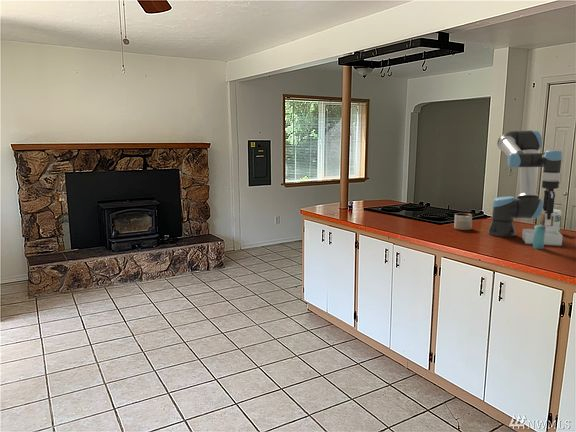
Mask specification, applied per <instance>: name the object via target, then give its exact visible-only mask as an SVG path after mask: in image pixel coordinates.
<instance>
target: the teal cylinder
mask: <svg viewBox="0 0 576 432" xmlns="http://www.w3.org/2000/svg"><path fill="white" fill-rule="evenodd" d="M545 230H546V226H542V225H541V224H539V225H537V224H536V225H534V239H533V244H532V249H537V250H543V249H544V247H545V245H544V236H545Z"/></svg>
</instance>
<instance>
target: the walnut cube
mask: <svg viewBox="0 0 576 432" xmlns="http://www.w3.org/2000/svg"><path fill="white" fill-rule="evenodd" d="M553 220H554V217H553V216H552V218H551V226H553ZM539 225H541V226H545V227H546V226H548V225H545V215H543V213H541V215H540V222H539Z"/></svg>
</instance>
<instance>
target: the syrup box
mask: <svg viewBox="0 0 576 432" xmlns="http://www.w3.org/2000/svg"><path fill="white" fill-rule="evenodd" d="M562 213H563V211H562V210H561V209H554V208H553V213H552V216H553V217H554V220H553V226H545V230H557V231H558V232H559V233H560V234H561V227H562V215H563V214H562Z"/></svg>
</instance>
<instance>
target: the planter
mask: <svg viewBox="0 0 576 432" xmlns="http://www.w3.org/2000/svg"><path fill="white" fill-rule="evenodd" d="M453 225H454V226H453V228H454V229H456V230H458V231H470V230H472V227H473V214H472V213H465V212H464V213H462V212H458V213H455V214H454V223H453Z"/></svg>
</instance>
